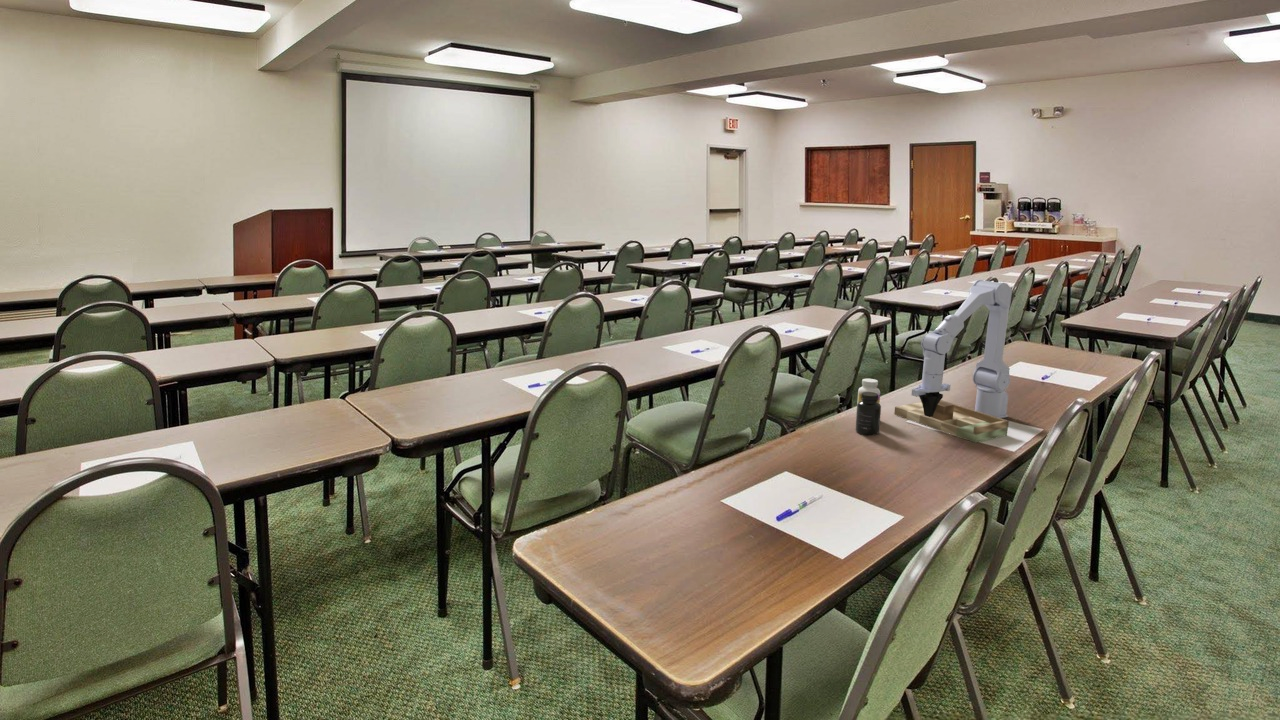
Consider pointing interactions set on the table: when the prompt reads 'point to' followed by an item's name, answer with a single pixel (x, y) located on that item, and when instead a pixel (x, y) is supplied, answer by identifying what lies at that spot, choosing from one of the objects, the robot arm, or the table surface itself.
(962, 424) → the trap board
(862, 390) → the supplement bottle
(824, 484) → the table surface
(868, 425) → the supplement bottle
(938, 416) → the walnut block
